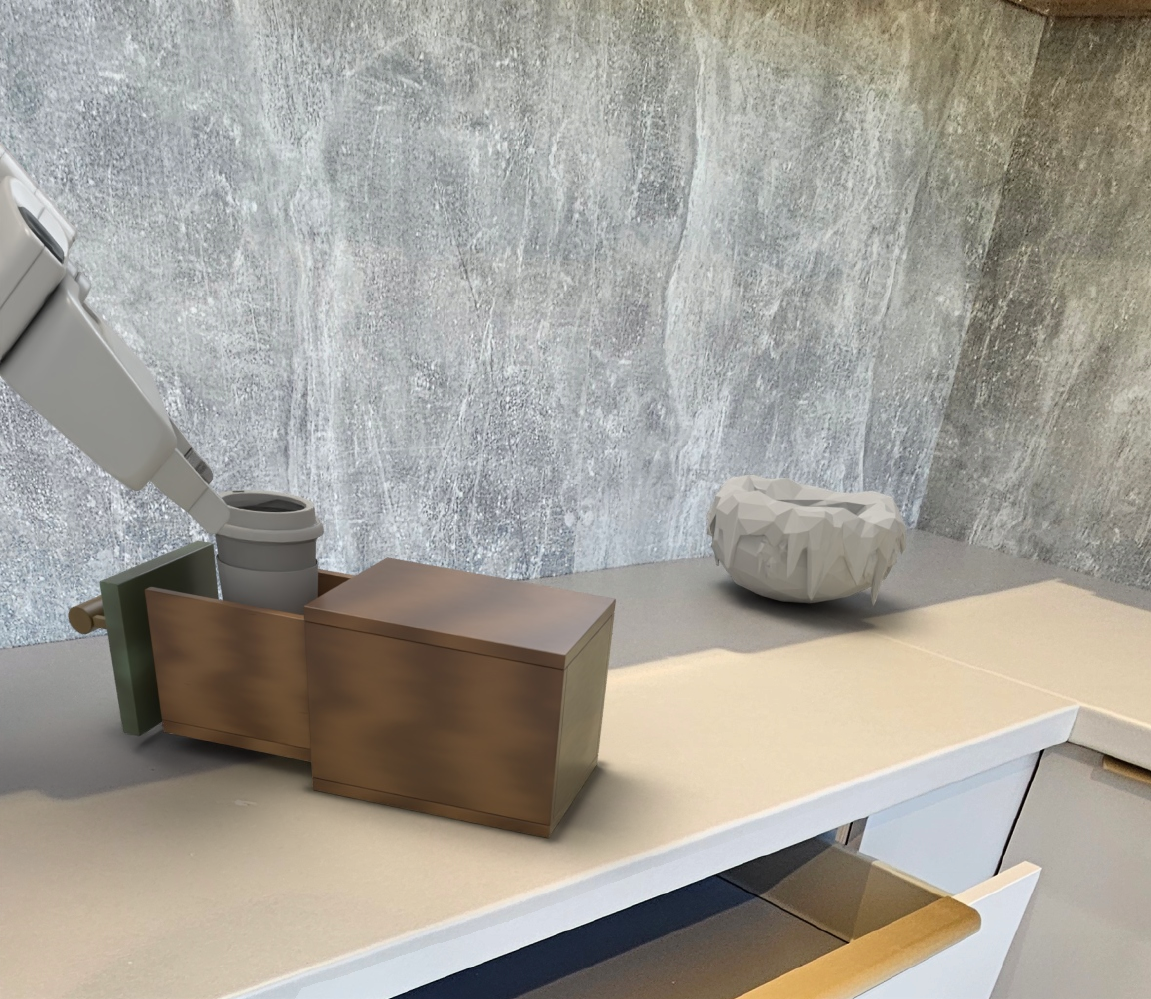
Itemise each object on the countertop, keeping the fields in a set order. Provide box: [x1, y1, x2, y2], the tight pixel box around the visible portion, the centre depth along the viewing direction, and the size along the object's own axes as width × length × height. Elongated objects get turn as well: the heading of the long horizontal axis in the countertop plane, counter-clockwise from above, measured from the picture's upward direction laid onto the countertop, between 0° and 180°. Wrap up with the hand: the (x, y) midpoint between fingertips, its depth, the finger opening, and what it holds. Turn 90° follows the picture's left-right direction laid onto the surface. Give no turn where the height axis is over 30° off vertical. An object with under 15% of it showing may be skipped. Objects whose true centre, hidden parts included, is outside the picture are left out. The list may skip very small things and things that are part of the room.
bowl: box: [705, 474, 907, 607], centre depth 118 cm, size 21×20×10 cm
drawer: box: [67, 540, 356, 763], centre depth 75 cm, size 19×12×9 cm, turn 76°
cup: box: [214, 489, 325, 616], centre depth 73 cm, size 7×7×12 cm
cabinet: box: [303, 556, 617, 839], centre depth 74 cm, size 16×14×11 cm
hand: (213, 503), depth 69 cm, fingers open, 8 cm apart
